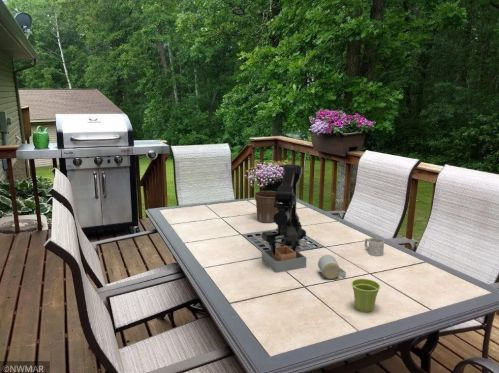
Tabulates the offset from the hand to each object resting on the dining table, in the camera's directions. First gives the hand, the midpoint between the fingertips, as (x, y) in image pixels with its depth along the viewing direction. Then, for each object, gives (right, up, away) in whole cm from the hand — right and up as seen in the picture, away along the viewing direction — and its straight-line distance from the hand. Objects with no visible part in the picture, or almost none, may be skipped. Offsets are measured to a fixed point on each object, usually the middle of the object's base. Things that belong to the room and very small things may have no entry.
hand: (283, 253), depth 171 cm
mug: (+43, -2, +14) cm, 45 cm away
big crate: (0, -5, +1) cm, 5 cm away
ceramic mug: (+19, -7, -10) cm, 23 cm away
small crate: (0, -5, +1) cm, 5 cm away
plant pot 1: (-4, +9, +64) cm, 65 cm away
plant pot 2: (+24, -13, -36) cm, 45 cm away
